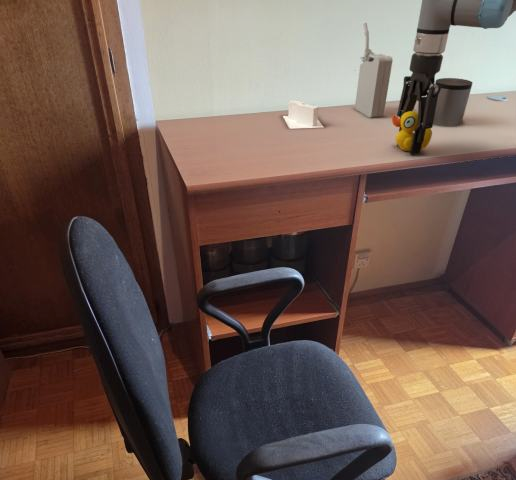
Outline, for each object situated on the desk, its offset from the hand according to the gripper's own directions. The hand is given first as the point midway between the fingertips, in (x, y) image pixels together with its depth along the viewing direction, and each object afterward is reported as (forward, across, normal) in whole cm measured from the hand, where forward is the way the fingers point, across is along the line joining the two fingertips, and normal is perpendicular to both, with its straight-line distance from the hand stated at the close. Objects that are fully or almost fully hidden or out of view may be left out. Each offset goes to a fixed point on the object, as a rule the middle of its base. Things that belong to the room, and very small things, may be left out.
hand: (407, 149), depth 127 cm
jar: (0, -22, +27) cm, 35 cm away
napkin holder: (0, -36, -18) cm, 40 cm away
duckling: (0, 0, 0) cm, 0 cm away
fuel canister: (0, -41, +8) cm, 41 cm away
